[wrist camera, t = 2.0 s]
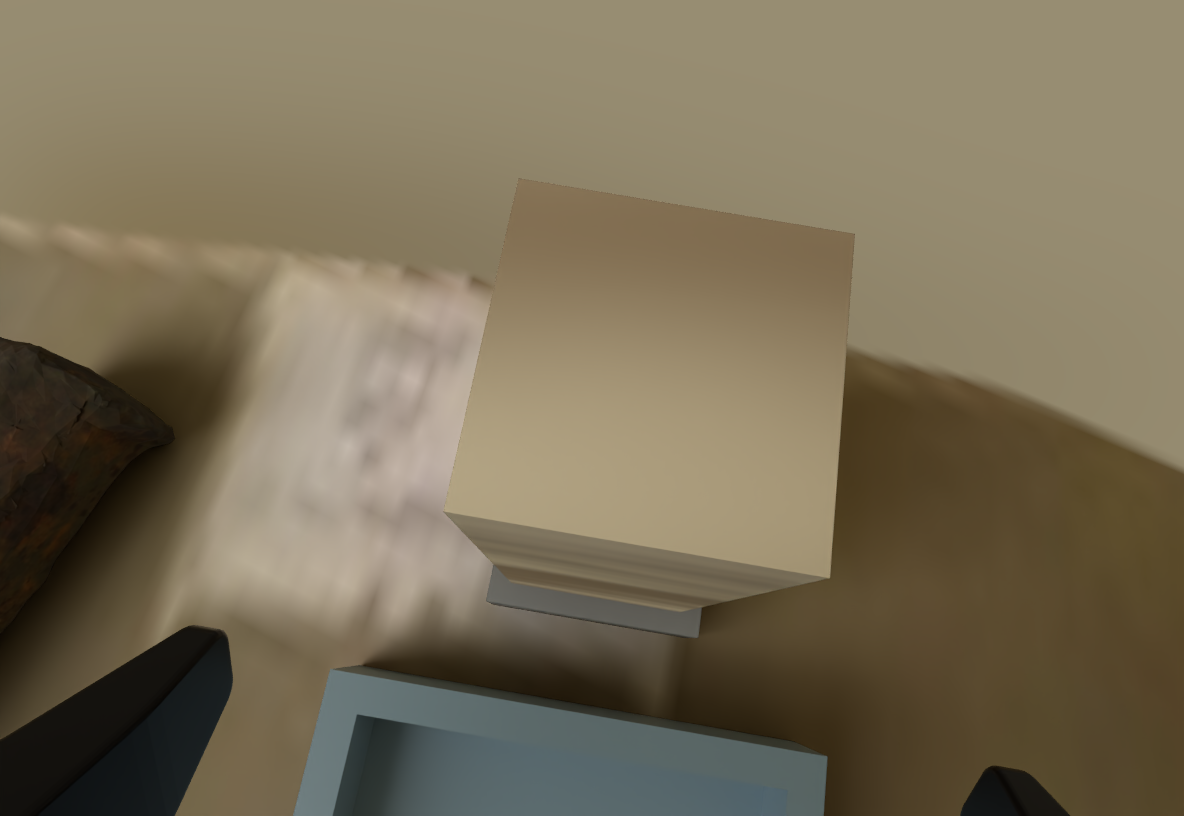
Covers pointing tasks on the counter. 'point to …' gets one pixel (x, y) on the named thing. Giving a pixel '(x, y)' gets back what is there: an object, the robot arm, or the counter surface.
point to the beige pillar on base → (653, 409)
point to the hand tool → (57, 458)
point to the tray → (535, 757)
